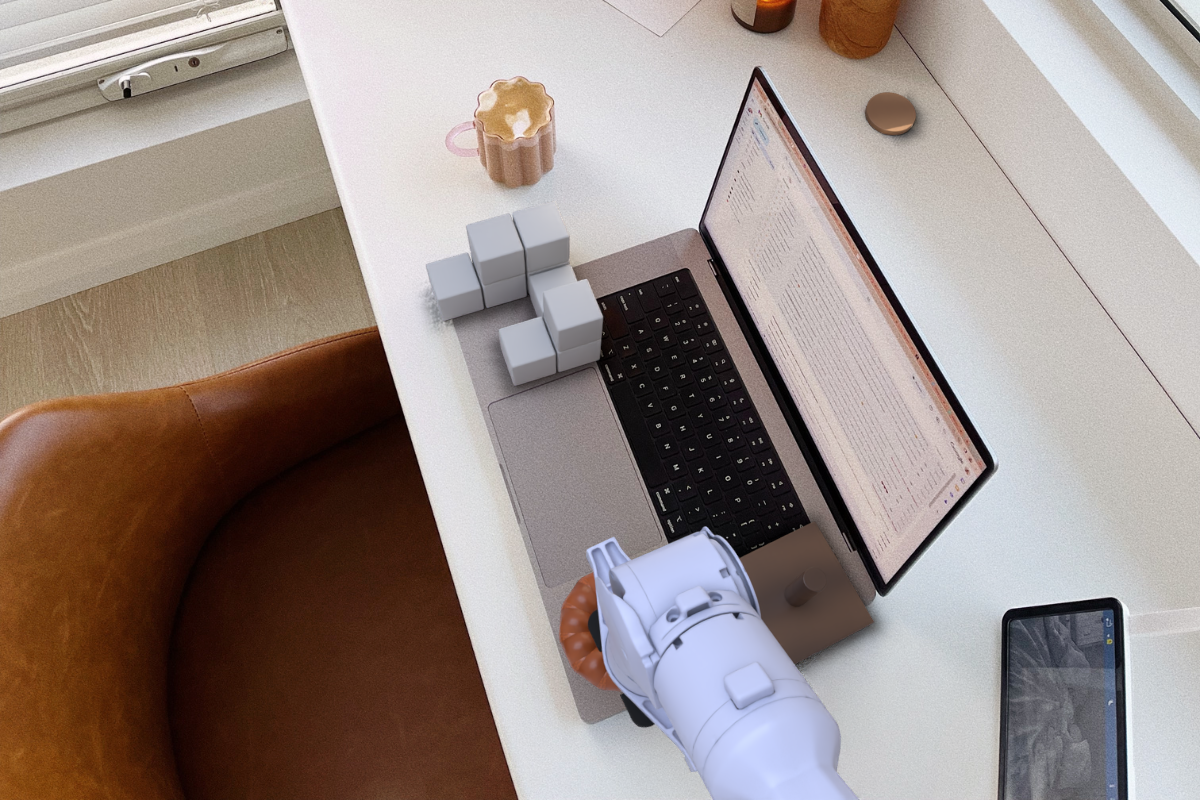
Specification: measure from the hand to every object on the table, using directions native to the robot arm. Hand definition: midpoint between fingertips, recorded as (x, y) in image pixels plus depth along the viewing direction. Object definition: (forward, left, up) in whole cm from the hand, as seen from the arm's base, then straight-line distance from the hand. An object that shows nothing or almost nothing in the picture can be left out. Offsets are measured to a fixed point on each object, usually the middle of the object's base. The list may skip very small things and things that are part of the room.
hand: (641, 667), depth 64 cm
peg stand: (0, -14, -7) cm, 16 cm away
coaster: (+38, -48, -7) cm, 61 cm away
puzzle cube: (+32, -4, -7) cm, 33 cm away
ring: (+3, 0, 0) cm, 3 cm away
